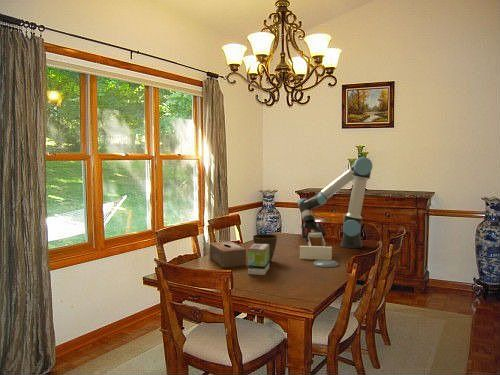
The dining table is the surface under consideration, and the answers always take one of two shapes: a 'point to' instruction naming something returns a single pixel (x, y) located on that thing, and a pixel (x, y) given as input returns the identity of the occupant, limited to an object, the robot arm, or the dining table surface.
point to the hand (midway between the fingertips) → (317, 245)
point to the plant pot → (266, 242)
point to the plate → (326, 263)
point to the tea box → (258, 259)
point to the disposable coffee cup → (315, 238)
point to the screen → (316, 252)
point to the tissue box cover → (228, 254)
